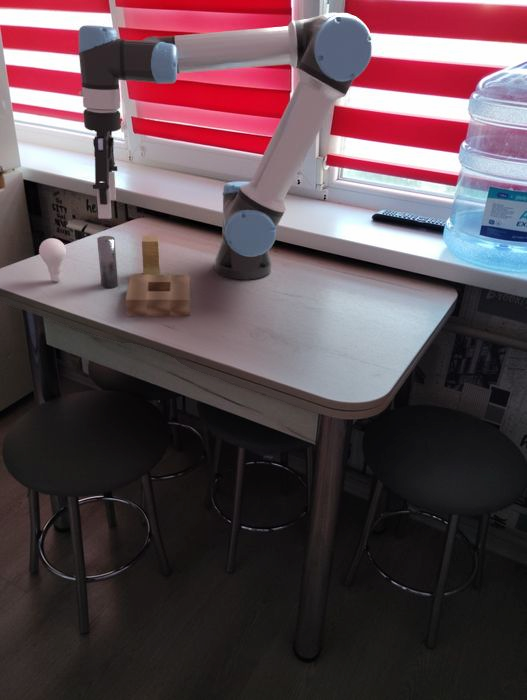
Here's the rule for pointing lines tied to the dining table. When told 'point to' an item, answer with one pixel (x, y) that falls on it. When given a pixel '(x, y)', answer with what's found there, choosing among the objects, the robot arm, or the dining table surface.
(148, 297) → the socket block
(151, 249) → the square bit
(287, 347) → the dining table surface
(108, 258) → the cylinder
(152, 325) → the dining table surface
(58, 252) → the lightbulb
